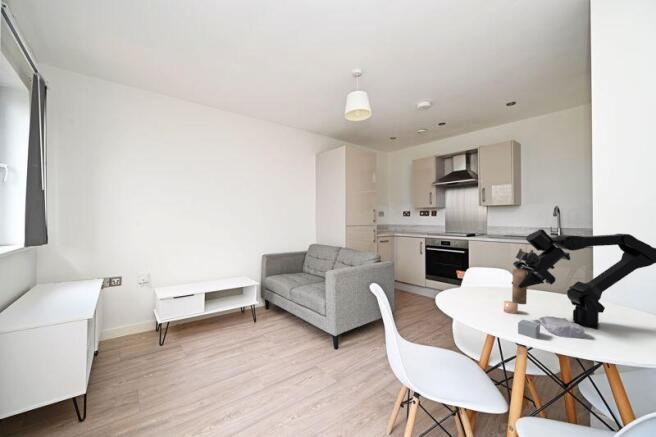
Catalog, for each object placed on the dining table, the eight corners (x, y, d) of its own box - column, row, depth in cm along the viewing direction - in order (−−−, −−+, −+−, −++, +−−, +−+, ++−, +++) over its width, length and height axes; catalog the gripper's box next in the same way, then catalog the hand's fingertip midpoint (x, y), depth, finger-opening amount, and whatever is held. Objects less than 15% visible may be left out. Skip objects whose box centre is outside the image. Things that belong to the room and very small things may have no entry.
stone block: (556, 342, 91) (589, 339, 89) (552, 328, 91) (585, 324, 89) (535, 329, 102) (564, 326, 101) (532, 316, 103) (561, 313, 101)
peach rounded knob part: (519, 312, 114) (519, 303, 114) (515, 315, 111) (515, 305, 111) (505, 309, 118) (505, 300, 118) (501, 311, 115) (502, 302, 115)
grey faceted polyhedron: (539, 335, 92) (540, 323, 92) (535, 339, 89) (535, 327, 89) (522, 330, 96) (522, 319, 96) (517, 333, 93) (518, 322, 93)
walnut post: (527, 302, 105) (528, 270, 105) (524, 305, 102) (525, 271, 102) (514, 299, 109) (514, 268, 109) (510, 302, 106) (511, 269, 106)
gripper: (518, 242, 114) (490, 266, 116) (546, 246, 95) (512, 275, 97) (538, 261, 113) (509, 285, 114) (571, 269, 94) (535, 298, 96)
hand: (515, 285), depth 106 cm, fingers closed on walnut post, 5 cm apart
